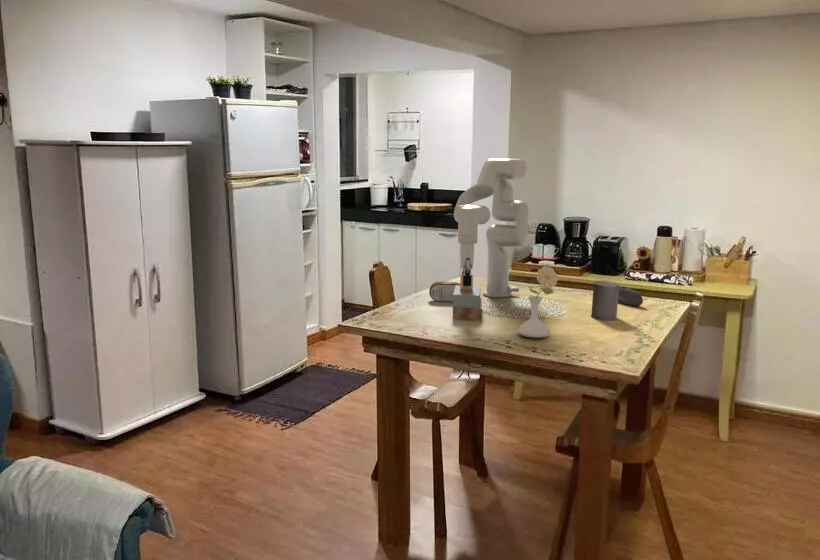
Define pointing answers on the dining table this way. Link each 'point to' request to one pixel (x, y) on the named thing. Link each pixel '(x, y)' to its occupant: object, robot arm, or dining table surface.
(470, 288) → the column
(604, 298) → the pillar candle
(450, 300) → the tin
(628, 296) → the perforated stone tool
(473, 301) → the tower top
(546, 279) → the flower in vase
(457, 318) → the tower base
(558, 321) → the dining table surface
